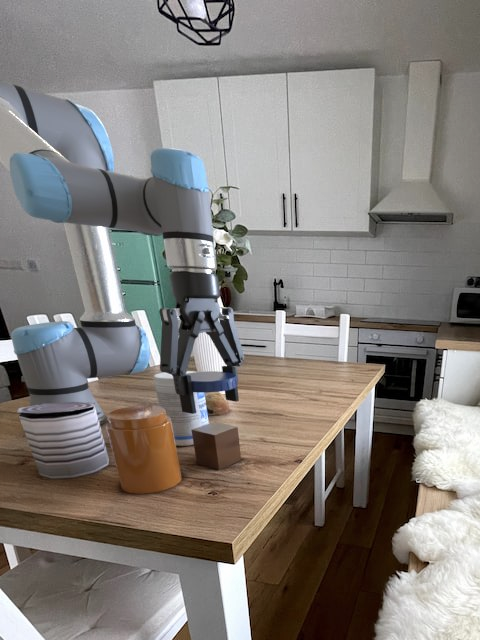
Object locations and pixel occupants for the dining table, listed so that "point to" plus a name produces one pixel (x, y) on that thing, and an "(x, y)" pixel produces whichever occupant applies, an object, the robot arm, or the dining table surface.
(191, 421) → the supplement tub
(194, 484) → the dining table surface
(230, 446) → the cube
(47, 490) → the dining table surface
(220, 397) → the bread roll
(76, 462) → the can
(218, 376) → the lid
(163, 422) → the jar
